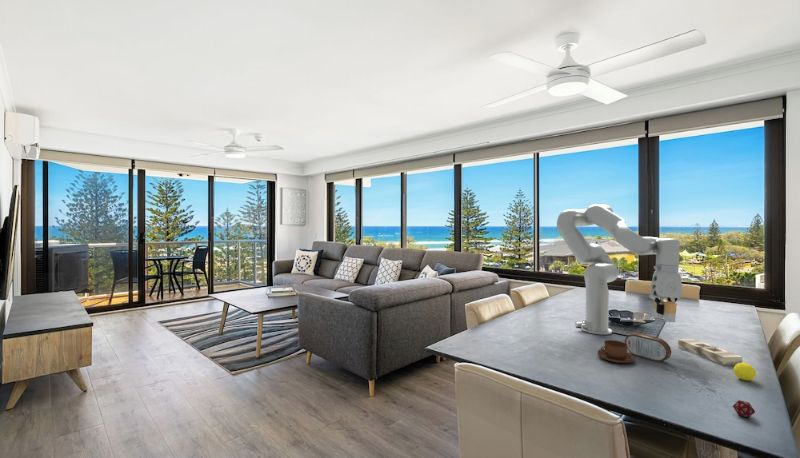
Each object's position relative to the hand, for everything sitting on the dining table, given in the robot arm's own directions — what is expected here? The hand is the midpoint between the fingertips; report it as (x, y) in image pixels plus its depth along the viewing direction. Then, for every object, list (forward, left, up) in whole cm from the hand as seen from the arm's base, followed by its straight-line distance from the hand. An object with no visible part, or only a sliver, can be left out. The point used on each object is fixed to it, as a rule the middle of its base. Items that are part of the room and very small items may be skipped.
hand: (664, 313), depth 152 cm
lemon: (+2, -31, -14) cm, 34 cm away
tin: (-16, -10, -14) cm, 24 cm away
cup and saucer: (-29, -11, -14) cm, 34 cm away
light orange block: (0, 0, -3) cm, 3 cm away
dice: (-22, -53, -14) cm, 59 cm away
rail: (+10, -9, -14) cm, 20 cm away
